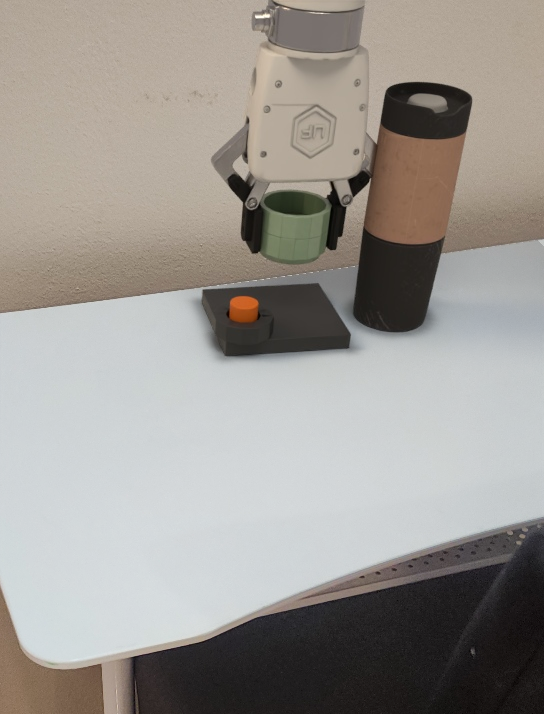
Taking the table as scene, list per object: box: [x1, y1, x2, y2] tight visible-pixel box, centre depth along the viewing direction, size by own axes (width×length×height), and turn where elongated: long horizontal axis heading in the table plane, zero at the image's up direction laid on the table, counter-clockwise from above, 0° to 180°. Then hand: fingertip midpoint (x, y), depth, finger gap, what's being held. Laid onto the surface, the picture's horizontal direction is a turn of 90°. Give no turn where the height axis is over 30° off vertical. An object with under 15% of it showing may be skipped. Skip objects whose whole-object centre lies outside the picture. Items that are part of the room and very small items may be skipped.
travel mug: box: [352, 81, 473, 333], centre depth 92 cm, size 8×8×20 cm
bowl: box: [259, 189, 332, 266], centre depth 92 cm, size 7×7×4 cm
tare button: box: [229, 296, 259, 323], centre depth 91 cm, size 3×3×2 cm
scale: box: [201, 282, 352, 357], centre depth 96 cm, size 13×12×3 cm
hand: (290, 244), depth 93 cm, fingers closed on bowl, 6 cm apart
